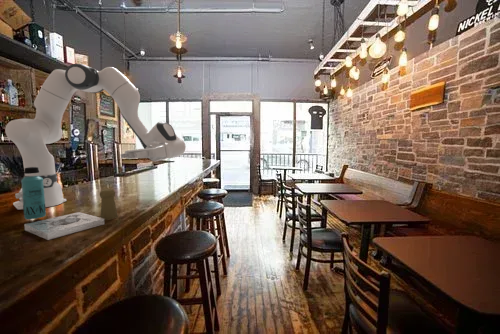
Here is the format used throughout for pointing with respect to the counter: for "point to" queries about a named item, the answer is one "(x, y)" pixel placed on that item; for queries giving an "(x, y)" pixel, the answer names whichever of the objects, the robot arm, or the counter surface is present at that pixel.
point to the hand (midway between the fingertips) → (128, 155)
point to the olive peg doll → (108, 204)
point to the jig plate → (56, 229)
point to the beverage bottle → (33, 195)
